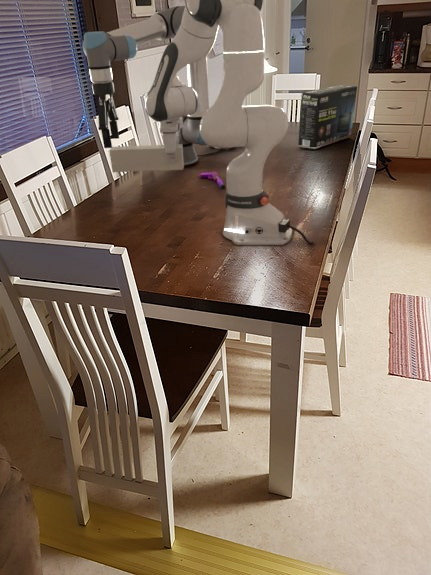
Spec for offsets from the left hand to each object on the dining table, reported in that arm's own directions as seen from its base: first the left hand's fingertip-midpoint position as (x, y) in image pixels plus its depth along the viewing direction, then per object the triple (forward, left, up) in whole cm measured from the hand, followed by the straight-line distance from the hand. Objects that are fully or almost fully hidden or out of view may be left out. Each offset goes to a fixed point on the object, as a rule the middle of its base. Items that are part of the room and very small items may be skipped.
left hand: (112, 143), depth 173 cm
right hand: (-7, +22, -7) cm, 24 cm away
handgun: (-28, +29, -21) cm, 45 cm away
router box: (-105, +62, -21) cm, 123 cm away
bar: (-4, +12, -10) cm, 16 cm away
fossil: (-84, +11, -21) cm, 87 cm away
